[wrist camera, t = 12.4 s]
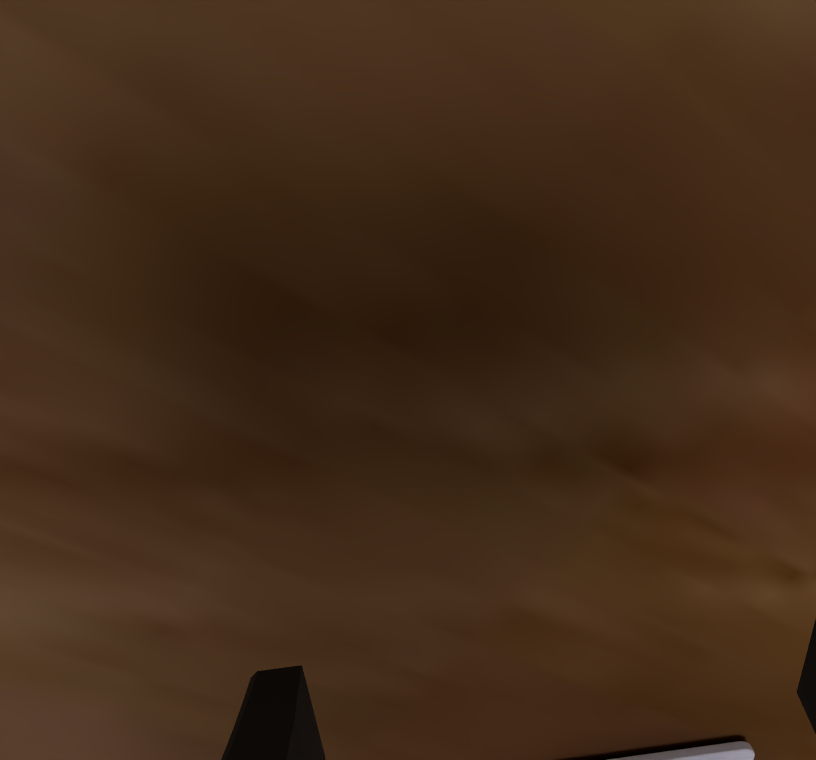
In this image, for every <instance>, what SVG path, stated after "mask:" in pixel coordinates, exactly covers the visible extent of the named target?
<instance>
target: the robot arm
mask: <svg viewBox="0 0 816 760" xmlns="http://www.w3.org/2000/svg"><path fill="white" fill-rule="evenodd" d="M797 694H798V696H799V698H800V701H801V703H802V705H803V707H804V709H805V711H806V714H807V716H808V718H809V720H810V722H811V725H812V727H813V729H814V731H815V733H816V620H815V624H814V627H813V631H812V635H811V639H810V643H809V647H808V651H807V655H806V658H805V662H804V666H803V670H802V674H801V678H800V682H799V685H798V689H797ZM754 756H755V754H754V751H753V749H752V747H751V745H750V744H749V743H747V742H744V741H737V742H730V743H723V744H716V745H708V746H701V747H694V748H687V749H679V750H672V751H665V752H658V753H650V754H643V755H636V756H629V757H621V758H614V759H607V760H754ZM221 760H325V755H324V751H323V747H322V743H321V739H320V735H319V731H318V727H317V723H316V719H315V715H314V711H313V707H312V703H311V699H310V695H309V692H308V688H307V684H306V680H305V676H304V672H303V668H302V665H301V666H293V667H286V668H279V669H271V670H264V671H257V672H256V673H255V674H254V675H253V676H252V677H251V679H250V682H249V685H248V688H247V691H246V694H245V697H244V700H243V703H242V706H241V709H240V712H239V715H238V717H237V720H236V723H235V726H234V728H233V731H232V734H231V736H230V739H229V741H228V744H227V747H226V749H225V752H224V754H223V757H222V759H221Z"/></svg>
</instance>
